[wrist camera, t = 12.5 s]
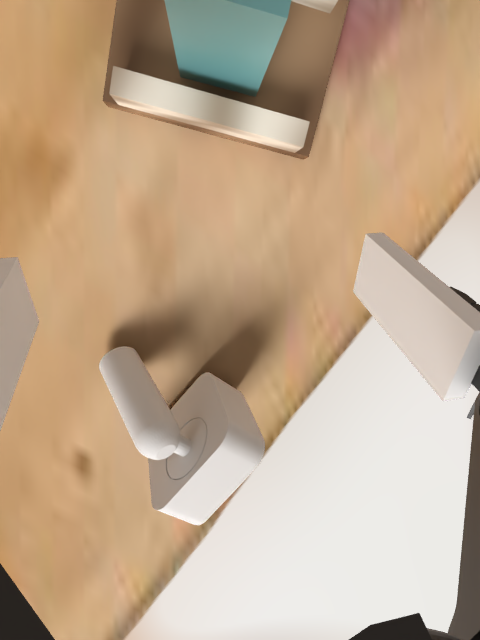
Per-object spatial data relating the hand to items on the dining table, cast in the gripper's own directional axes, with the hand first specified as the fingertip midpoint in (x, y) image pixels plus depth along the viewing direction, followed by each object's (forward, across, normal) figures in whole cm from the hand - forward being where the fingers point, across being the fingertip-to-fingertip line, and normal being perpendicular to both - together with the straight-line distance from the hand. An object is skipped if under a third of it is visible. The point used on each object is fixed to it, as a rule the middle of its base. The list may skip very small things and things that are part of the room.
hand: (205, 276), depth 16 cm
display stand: (+18, +4, +7) cm, 20 cm away
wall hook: (+10, -2, -16) cm, 20 cm away
